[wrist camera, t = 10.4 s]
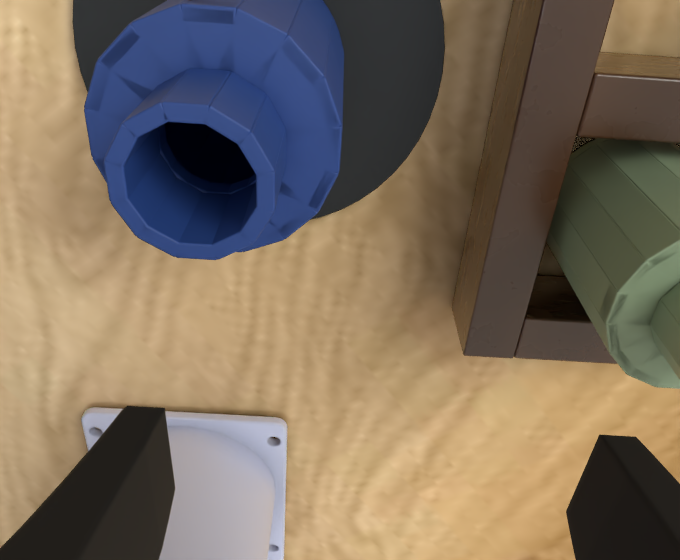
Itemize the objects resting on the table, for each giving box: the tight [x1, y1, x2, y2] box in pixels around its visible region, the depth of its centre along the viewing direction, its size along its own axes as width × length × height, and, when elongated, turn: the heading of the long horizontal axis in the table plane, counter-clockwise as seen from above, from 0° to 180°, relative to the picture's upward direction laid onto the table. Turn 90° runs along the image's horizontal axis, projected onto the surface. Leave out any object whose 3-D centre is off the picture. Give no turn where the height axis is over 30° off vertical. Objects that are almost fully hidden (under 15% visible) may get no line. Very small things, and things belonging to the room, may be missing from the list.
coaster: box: [73, 0, 445, 219], centre depth 17 cm, size 10×10×1 cm
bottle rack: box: [452, 0, 680, 364], centre depth 16 cm, size 9×16×3 cm, turn 176°
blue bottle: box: [84, 0, 344, 260], centre depth 13 cm, size 5×5×8 cm
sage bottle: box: [546, 138, 680, 389], centre depth 15 cm, size 5×5×8 cm
